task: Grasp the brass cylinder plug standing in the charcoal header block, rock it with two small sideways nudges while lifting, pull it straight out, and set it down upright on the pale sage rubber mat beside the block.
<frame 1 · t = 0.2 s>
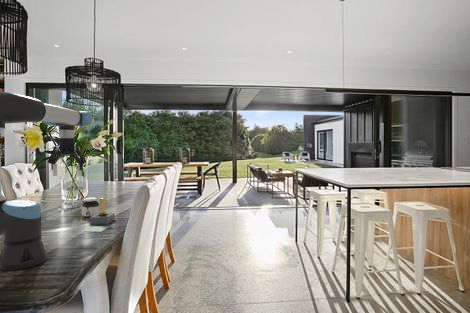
hand: (67, 176, 156), 28 cm above the table, fingers open, 13 cm apart
spread jar: (94, 216, 180), on the table
header: (102, 221, 166), on the table
mat: (96, 229, 151), on the table
plug: (102, 210, 165), in the header
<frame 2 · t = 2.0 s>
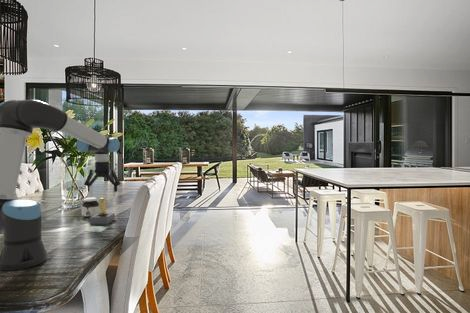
hand: (102, 197, 165), 15 cm above the table, fingers open, 13 cm apart
nothing on the table moved.
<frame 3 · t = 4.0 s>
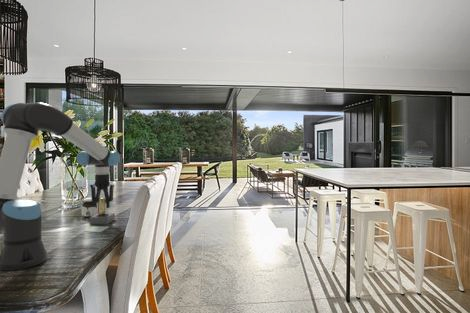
hand: (102, 213, 165), 5 cm above the table, fingers closed on plug, 4 cm apart
plug: (102, 210, 165), in the header, touching gripper
everything else where it was.
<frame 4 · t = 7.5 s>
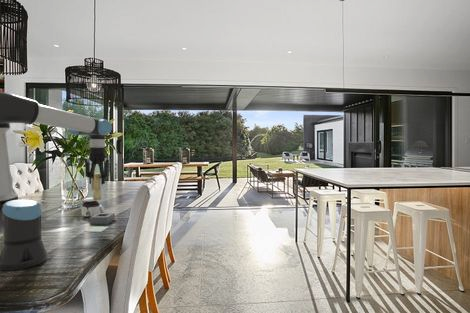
hand: (97, 189, 153), 21 cm above the table, fingers closed on plug, 4 cm apart
plug: (97, 186, 153), point 23 cm above the table, touching gripper
everything else where it was.
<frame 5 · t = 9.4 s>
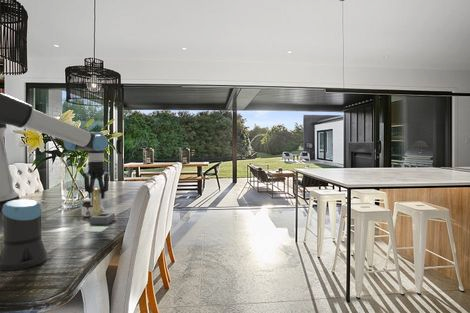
hand: (96, 204, 150), 13 cm above the table, fingers closed on plug, 4 cm apart
plug: (96, 201, 150), point 15 cm above the table, touching gripper
everything else where it was.
when the fingers open (7 cm above the table, at t = 11.2 s): plug drops 1 cm, resting on mat.
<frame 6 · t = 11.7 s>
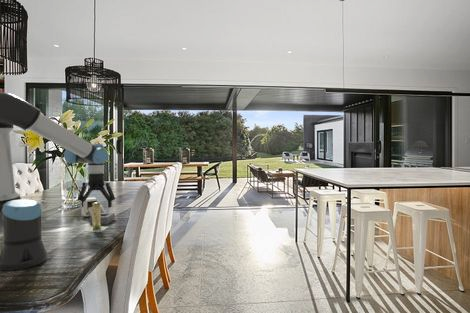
hand: (96, 213, 150), 9 cm above the table, fingers open, 11 cm apart
plug: (96, 215, 150), resting on mat
everything else where it was.
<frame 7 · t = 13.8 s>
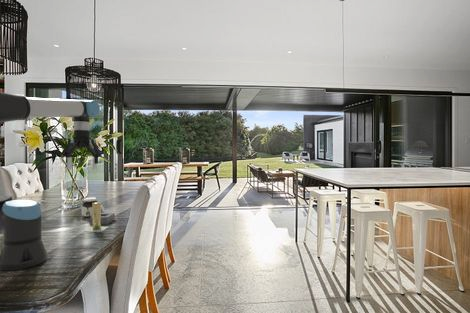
hand: (82, 169, 150), 32 cm above the table, fingers open, 13 cm apart
nothing on the table moved.
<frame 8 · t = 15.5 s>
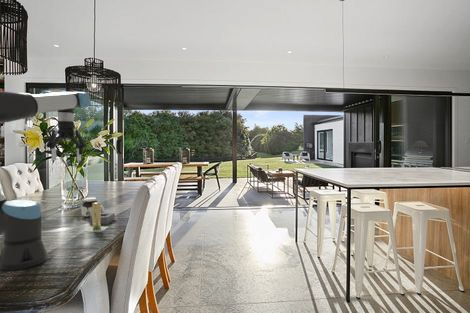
hand: (66, 160, 151), 37 cm above the table, fingers open, 13 cm apart
nothing on the table moved.
at the end: plug inside the target area on the mat (0.0 cm from its centre), point 7.3 cm above the mat's base; plug tilted 0°; the gripper is holding nothing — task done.
